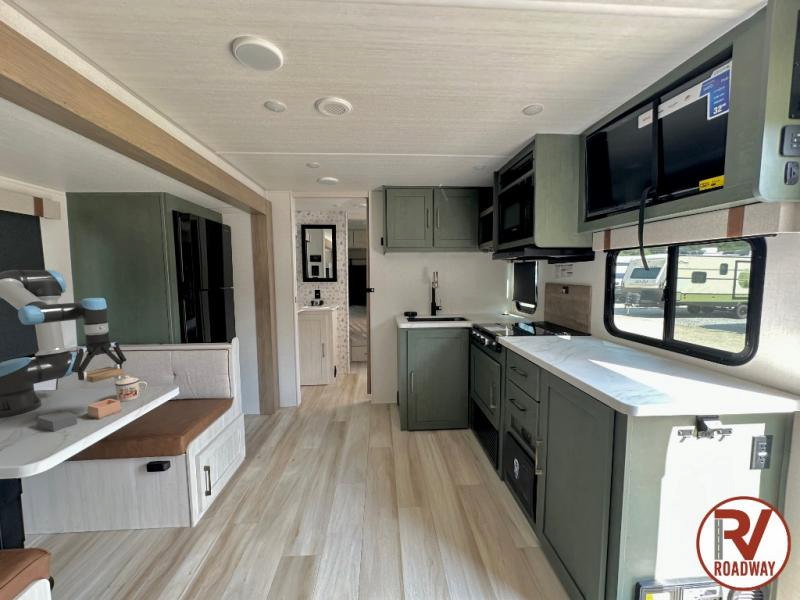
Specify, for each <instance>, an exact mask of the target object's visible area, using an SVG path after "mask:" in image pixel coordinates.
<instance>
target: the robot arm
mask: <svg viewBox="0 0 800 600" xmlns="http://www.w3.org/2000/svg"><path fill="white" fill-rule="evenodd" d="M66 284H67V282H66V280H65V278H64V276H63V274H61V273H60V272H59V271H57V270H54V269H53V270H52V269H51V270H48V269H11V270H4V271H1V272H0V299H3V300H4V301H6V302H7V303H9V305H11V306H12V307H13V308H15V309H16V310H17V311H18V312H17V317H18V319H19V320H20V323H21V324H22V325H28V326H29V325H34V327H35V333H36V340H37V347H38V351H37V352H36V353H35V354H34V358H33V359H32V358H31V357H25V356H24V357H18V358H14V359H13V358H12V359H9V360H5V361H1V362H0V418H5V417H6V418H7V417H11V416H15V415H21V414H24V413H27V412H28V413H29V412H31V411H34V410H36V409H38V408H41V406H43V405H42V403H43V402H42V399H41V398H40V396H39V394H37V393H36V391H35V387H34V386H35V384H39V383H45V382H49V381H52V380H57V379H63V378H65V377H69V376H72V375H73V374H74V373H77V380H78V379H79V381H81V388H89V387H88V386H89V385H88V381H87V373H86V372H87V371H85V370H86V369H87V367H88V366H89V364H90V362H91V361H92V360H93V358H95V356H99V355H104V354H105V355H107V357H109V358H110V359H111V360H112V361H113V362H115V363H114V364H113V367H114V368H120V369H123V363H124V362H127V358H126V356H125V355H124V353H123V351H122V349H121V348H120V342H118V341H113V342H110V339H111V338H110V333H109V322H108V321H109V320H108V311H107V310H108V305H107V301H106V299H105V298H104V297H87V298H83V299H82V300H81V301H74V302H67V303H66V302H65V303H59V301H58V300H60V298H62V294H64V293H66V290H67V285H66ZM77 320H83V328H84V334H85V343H86V344H85V345H86V346H85V347H82V348H79V347H78V348H76V350H75V351H76V354H75V353H74V352H71V351H70V349H69V348H67V347H65V340H64V335H63V327H62V322H67V321H77ZM111 347H112V349H113V350H114V352H115V354H116V355H117V356H116V355H115V354H114V353H113V352H112V351H111V350H110V348H111ZM86 351H87V354H86V356H85V358H84V359H83V357H84V354H85V352H86ZM121 376H122V375H120V376H116V377H114V378H115V379H117V380H121V379H122V377H121Z"/></svg>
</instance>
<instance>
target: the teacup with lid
mask: <svg viewBox="0 0 800 600" xmlns="http://www.w3.org/2000/svg"><path fill="white" fill-rule="evenodd" d="M140 384H143V385H144V388H142V389H140ZM114 386H115V392H116V400H118V401H120V403H121V402H130V401H133V400H134V401H135V400H137V399H138V398H139V397H140V396H141V395H140V392H143V391H145V390H147V386H148V383H147V382H146V381H140V379H139V378H137V377H133V376H132V377H131V376H130V375H128V374H126V375H123V378H120V379H118V380H117V381H116V382H115V384H114Z"/></svg>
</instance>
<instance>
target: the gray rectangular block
mask: <svg viewBox="0 0 800 600" xmlns="http://www.w3.org/2000/svg"><path fill="white" fill-rule="evenodd" d="M77 418H78V417H77V414H76V413H72V412H69V411H66V410H60V409H59V410H56V411H53V412H50V413H46V414H43V415H40V416H37V425H38V427H39V428H42V429H45V430H48V431H51V432H57V431H60V430H63V429H66V428H69V427H71V426H74V425H77V424H78V419H77Z"/></svg>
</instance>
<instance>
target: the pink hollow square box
mask: <svg viewBox="0 0 800 600" xmlns="http://www.w3.org/2000/svg"><path fill="white" fill-rule="evenodd" d="M121 404H122V403H121V402H120V401H118V400H117V399H113V398H107V399H104V400H100V401H97V402H93V403H91V404H88V405H87V414H88V418H92V417H93V419H96V420H102V419H104V417H105V418H108V417H111V416H113V415H116V414H119V413H121V412H122V407H121V406H122V405H121ZM101 418H102V419H101Z"/></svg>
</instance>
